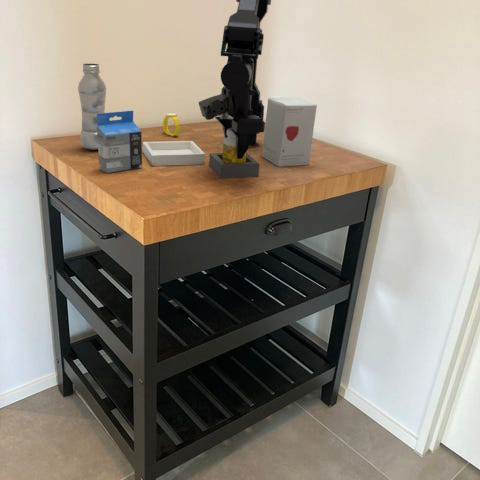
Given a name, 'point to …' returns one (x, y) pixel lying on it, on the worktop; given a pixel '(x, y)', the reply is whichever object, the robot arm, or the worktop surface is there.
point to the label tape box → (118, 142)
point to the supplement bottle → (231, 149)
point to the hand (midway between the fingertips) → (234, 154)
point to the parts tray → (173, 153)
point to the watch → (177, 125)
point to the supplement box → (288, 131)
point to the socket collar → (233, 167)
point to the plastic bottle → (91, 104)
